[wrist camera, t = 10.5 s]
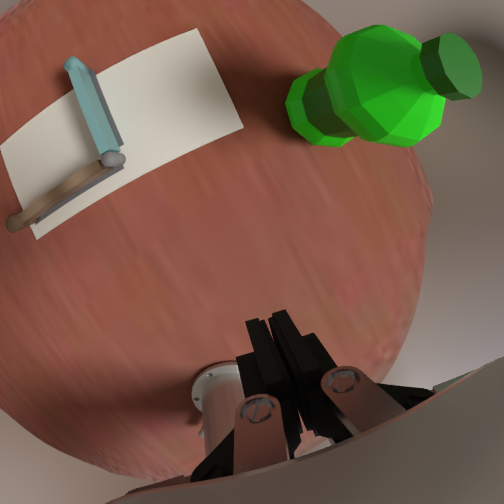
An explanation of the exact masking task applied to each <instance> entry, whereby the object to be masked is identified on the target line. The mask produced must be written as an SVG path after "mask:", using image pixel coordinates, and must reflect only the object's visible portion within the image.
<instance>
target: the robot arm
mask: <svg viewBox="0 0 504 504" xmlns="http://www.w3.org/2000/svg"><path fill="white" fill-rule="evenodd" d="M268 321H269V325H270V329H271V332H272V336H273V338H272V336H271V334H270V332H269V329H268V327H267V325H266V323H265V320H261V321H259V319H258V318H255V319H252V320H249V321H245V323H246V326H247V330H248V333H249V336H250V339H251V343H252V346H253V349H254V352H251V353H248V354H245V355H241V356H238V357H236V361H237V362H223V363H219V364H215V365H213V366H211V367H208V368H207V369H205V370H204V371H202V372H201V373H200V374H199V375H198V376H197V377H196V379H195V380H194V382H193V385H192V391H191V393H192V400H193V403H194V405H195V406H196V408H197V409H198V410H199V411H200V412H202V414H203V426H202V428H201V429H200V431H199V432H198V433H199V436H200V437H201V438H204V442H205V454H206V458H205V459H204V460H203V461H202V462H201V463H200V464H199V465H198V466H197V467H196V469H195V470H194V471H193V473H192V475H189V476H187V477H185V476H184V475H180V476H177V477H174V478H171V479H168V480H164V481H161V482H158V483H154V484H151V485H147V486H144V487H140V488H136V489H133V490H131V491H129V492H128V493H126V494H125V495H124V496H122V497H119V498H116V499H114V500H111V501H110V502H107V503H106V504H504V357H502V358H498V359H496V360H494V361H492V362H489V363H487V364H485V365H483V366H481V367H480V368H478V369H476V370H473V371H471V372H468V373H466V374H464V375H461V376H459V377H456V378H454V379H451V380H449V381H446V382H443V383H441V384H438V385H435V386H433V389H432V390H428V389H423V388H415V387H405V386H396V385H387V384H379V383H375V382H374V381H372V380H371V379H370V378H369V377H368V376H367V375H366V374H364V373H363V372H362V371H361V370H359V369H358V368H356V367H352V366H341V367H337V365H336V364H335V362H334V361H333V359H332V358H331V356H330V355H329V354H328V352H327V351H326V349H325V348H324V346H323V345H322V343H321V342H320V341H319V339H318V338H317V336H316V335H315V334H314V333H311V334H308V335H305V336H301V334H300V333H299V331H298V329H297V328H296V326H295V325H294V323H293V321H292V320H291V318H290V316H289V315H288V313H287V311H286V310H285V309H284V310H281V311H278V312H275V313H272V317H271V318H268ZM273 340H274V341H273ZM298 411H299V413H300V416H301V418H302V420H303V423H304V425H305V427H306V429H307V431H310V430H313V432H314V434H315V436H316V437H317V436H323V437H327V438H329V441H330V444H331V446H329V447H326V448H324V449H321V450H318V451H316V452H312V453H310V454H307V455H304V456H301V457H298V458H296V456H295V453H294V452H295V450H296V449H297V447H298V446H299V444H300V443H301V438H300V434H301V433H303V430H302V425H301V421H300V417H299V413H298Z"/></svg>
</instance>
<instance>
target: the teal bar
mask: <svg viewBox="0 0 504 504" xmlns="http://www.w3.org/2000/svg"><path fill="white" fill-rule="evenodd" d="M64 69H65V70H66V71H68V73H69V76H70V79H71V82H72V85H73V87H74V90H75V93H76V96H77V98H78V101H79V104H80V106H81V109H82V112H83V114H84V117H85V119H86V122H87V124H88V127H89V129H90V132H91V134H92V137H93V139H94V142H95V144H96V146H97V149H98V151H99V153H100V155H102V157H101V162H102V164H103V165H104V166H106V167H114V166H122V165H124V164H125V162H126V157H125V155H124V154H122V153H118V152H120V151H121V150H120V147H119V145H118V143H117V141H116V138H115V136H114V134H113V131H112V129H111V127H110V124H109V122H108V119H107V117H106V115H105V112H104V110H103V107H102V105H101V102H100V100H99V97H98V95H97V92H96V89H95V87H94V84H93V82H92V79H91V76H90V75H91V70H90V69H89V68H88V67H87V66H86V65H84V64H83V63H82V62H81V61H80V60H79V59H77V58H76V57H70V58H68V59H67V60H66V61H65V63H64Z"/></svg>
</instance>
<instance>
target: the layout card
mask: <svg viewBox="0 0 504 504" xmlns="http://www.w3.org/2000/svg"><path fill="white" fill-rule="evenodd" d="M90 76H91V79H92V82H93V84H94V87H95V89H96V92H97V95H98V97H99V100H100V102H101V105H102V107H103V110H104V112H105V115H106V117H107V119H108V122H109V124H110V127H111V129H112V131H113V134H114V136H115V138H116V141H117V143H118V145H119V147H120V150H121V151H120V152H118V153H122V154H124V155H125V157H126V162H125V164H124V165H122V166H114V167H113V168H114V169H113V170H111V171H109V172H108V173H106V174H104V175H102V176H101V177H99V178H97V179H96V180H94V181H93V182H91V183H89V184H88V185H86V186H85V187H83V188H81V189H80V190H78V191H77V192H75V193H74V194H72V195H71V196H69V197H68V198H66V199H65V200H63V201H62V202H60V203H59V204H57V205H56V206H54V207H53V208H51V209H50V210H49V211H47V212H46V213H44V214H43V215H41V216H40V219H39V221H38V222H37V223H34V224H32V225H30V227H31V229H32V231H33V233H34V235H35V237H36V239H37V240H38V239H39V238H40V237H42V236H43V235H45V234H46V233H48V232H49V231H51V230H52V229H54V228H55V227H57V226H58V225H60V224H61V223H63V222H64V221H66V220H67V219H69V218H70V217H72V216H73V215H75V214H76V213H78V212H80V211H81V210H83V209H84V208H86V207H88V206H89V205H91V204H93V203H94V202H96V201H98V200H99V199H101V198H103V197H104V196H106V195H108V194H110V193H111V192H113V191H115V190H116V189H118V188H120V187H122V186H124V185H125V184H127V183H129V182H131V181H133V180H134V179H136V178H138V177H140V176H142V175H144V174H146V173H148V172H149V171H151V170H153V169H155V168H157V167H159V166H161V165H163V164H165V163H167V162H169V161H171V160H173V159H175V158H177V157H179V156H181V155H183V154H186V153H188V152H190V151H192V150H194V149H196V148H198V147H201V146H203V145H205V144H207V143H209V142H212V141H214V140H216V139H219V138H221V137H223V136H226V135H228V134H230V133H233V132H235V131H237V130H240V129H242V128H244V127H243V124H242V122H241V120H240V118H239V116H238V113H237V111H236V109H235V107H234V105H233V102H232V100H231V98H230V96H229V94H228V92H227V90H226V87H225V85H224V83H223V81H222V79H221V77H220V75H219V73H218V70H217V68H216V66H215V64H214V62H213V60H212V58H211V56H210V54H209V52H208V50H207V48H206V46H205V44H204V42H203V40H202V38H201V36H200V34H199V32H198V30H197V28H196V29H194V30H191V31H188V32H186V33H183V34H180V35H178V36H175V37H173V38H170V39H168V40H166V41H163V42H161V43H159V44H156V45H154V46H152V47H150V48H147V49H145V50H143V51H141V52H139V53H137V54H135V55H133V56H131V57H129V58H127V59H125V60H123V61H121V62H119V63H117V64H115V65H113V66H112V67H110V68H108V69H106V70H104V71H103V72H101V73H99V74H97V75H96V74H95V72H94V69H93V70H91V75H90ZM0 150H1V153H2V156H3V159H4V162H5V165H6V168H7V171H8V174H9V177H10V179H11V182H12V185H13V187H14V190H15V192H16V195H17V197H18V200H19V202H20V204H21V207H22V209H23V210H25V209H26V208H27V207H28V206H30V205H31V204H32V203H34V202H35V201H36V200H38V199H39V198H40V197H42V196H43V195H44V194H46V193H47V192H49V191H50V190H51V189H53V188H54V187H56V186H57V185H59V184H60V183H61V182H63V181H64V180H66V179H67V178H69V177H70V176H72V175H73V174H75V173H76V172H78V171H79V170H81V169H83V168H84V167H86V166H87V165H89V164H91V163H92V162H94V161H95V160H101V157H102V155H100V153H99V151H98V149H97V146H96V144H95V142H94V139H93V137H92V134H91V132H90V129H89V127H88V124H87V122H86V119H85V117H84V114H83V112H82V109H81V106H80V104H79V101H78V98H77V96H76V93H75V90H74V89H73V90H72V91H70V92H69V93H67V94H66V95H64V96H63V97H61V98H60V99H58V100H57V101H55V102H54V103H53V104H51V105H50V106H48V107H47V108H46V109H44V110H43V111H42V112H40V113H39V114H38V115H36V116H35V117H34V118H32V119H31V120H30V121H29V122H27V123H26V124H25V125H24V126H23V127H21V128H20V129H19V130H18V131H17V132H15V133H14V134H13V135H12V136H11V137H10V138H8V139H7V140H6V141H5V142H4V143H3V144H2V145H1V146H0Z"/></svg>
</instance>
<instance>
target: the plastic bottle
mask: <svg viewBox="0 0 504 504" xmlns="http://www.w3.org/2000/svg"><path fill="white" fill-rule="evenodd" d="M481 86H482V72H481V69H480V66H479V63H478V60H477V57H476V55H475V54H474V52H473V51H472V50H471V48H470V47H469V45H468V44H467V43H466V41H465V40H463V39H462V38H460V37H458V36H457V35H455V34H453V33H451V32H450V33H447V34H445V35H442V36H439V37H437V38H434V39H431V40H429V41H427V42H424V43H422V44H421V43H420V42H419V41H418V40H417V39H415V38H414V37H413V36H411V35H409V34H406V33H404V32H401V31H399V30H396V29H394V28H391V27H388V26H385V25H372V26H369V27H366V28H363V29H361V30H358V31H355V32H353V33H351V34H348V35H346V36H344V37H343V38H341V39H340V40H339V41H338V42H337V44H336V45H335V47H334V49H333V52H332V55H331V58H330V61H329V64H328V66H327V68H325V69H318V68H316V69H314V70H312V71H310V72H308V73H306V74H304V75H302V76H301V77H299V78H297V79H295V80H294V81H293V83H292V86H291V88H290V91H289V94H288V96H287V99H286V102H285V105H286V109H287V112H288V115H289V119H290V122H291V125H292V128H293V129H294V130H295V131H297V132H298V133H299V134H300V135H301V136H303V137H304V138H305V139H306V140H307V141H308V142H310V143H311V144H312V145H320V146H330V147H340V146H342V145H343V144H345V143H346V142H348V141H349V140H351V139H352V138H354V137H356V136H359V137H360V138H361V139H363V140H366V141H369V142H375V143H381V144H387V145H392V146H397V147H411V146H413V145H414V144H416V143H417V142H418V141H420V140H421V139H422V138H424V137H425V136H427V135H428V134H429V133H431V132H432V131H433V130H435V129H436V128H437V127H439V126H440V124H441V119H442V115H443V109H444V105H445V100H446V98H447V99H450V100H452V101H455V100H462V99H471V98H473V97H475V96H476V95H477V94H479V93H480V92H481V88H482V87H481Z"/></svg>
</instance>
